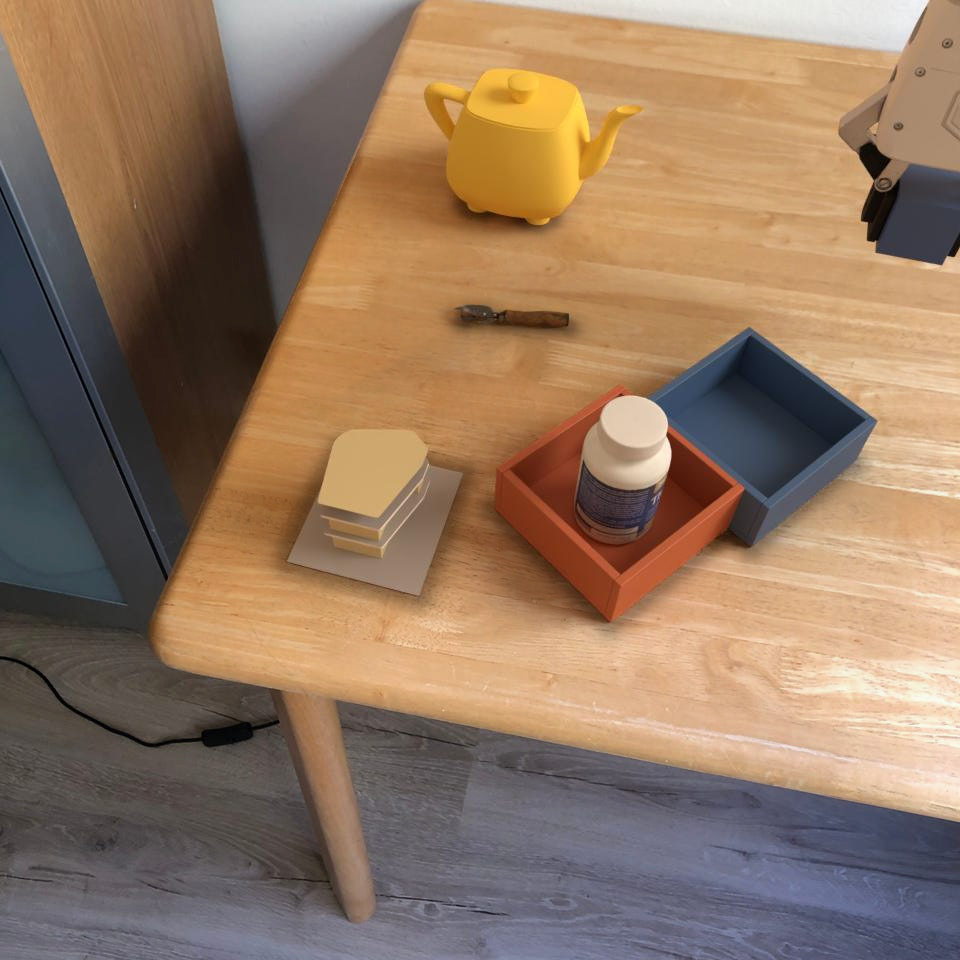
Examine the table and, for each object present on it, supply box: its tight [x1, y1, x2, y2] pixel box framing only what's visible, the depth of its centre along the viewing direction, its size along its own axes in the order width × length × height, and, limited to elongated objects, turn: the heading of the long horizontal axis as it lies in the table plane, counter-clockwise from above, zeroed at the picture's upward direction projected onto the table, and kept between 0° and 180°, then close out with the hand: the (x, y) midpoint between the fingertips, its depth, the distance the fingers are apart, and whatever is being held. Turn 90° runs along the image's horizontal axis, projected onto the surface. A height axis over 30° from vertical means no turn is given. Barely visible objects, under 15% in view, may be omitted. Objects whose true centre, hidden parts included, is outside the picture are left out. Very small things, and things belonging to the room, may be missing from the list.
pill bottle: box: [574, 395, 671, 545], centre depth 60 cm, size 5×5×10 cm
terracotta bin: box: [493, 383, 745, 623], centre depth 63 cm, size 11×11×5 cm
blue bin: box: [645, 326, 878, 548], centre depth 66 cm, size 11×11×5 cm
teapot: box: [423, 68, 644, 226], centre depth 80 cm, size 18×11×11 cm, turn 73°
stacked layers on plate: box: [286, 428, 464, 597], centre depth 62 cm, size 10×9×6 cm
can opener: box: [453, 304, 570, 328], centre depth 75 cm, size 9×2×1 cm, turn 80°
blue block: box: [874, 164, 960, 266], centre depth 66 cm, size 4×4×4 cm
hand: (911, 234), depth 67 cm, fingers closed on blue block, 4 cm apart
